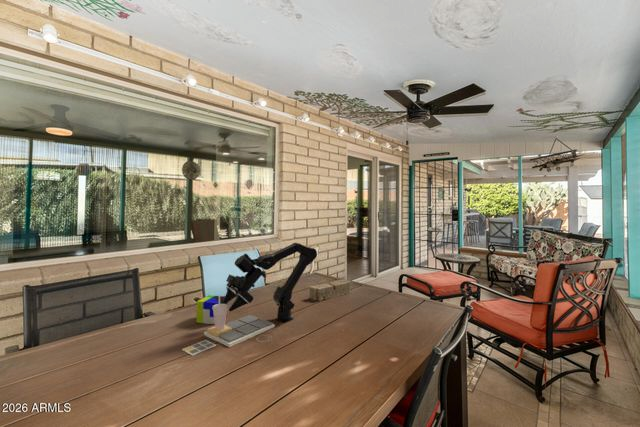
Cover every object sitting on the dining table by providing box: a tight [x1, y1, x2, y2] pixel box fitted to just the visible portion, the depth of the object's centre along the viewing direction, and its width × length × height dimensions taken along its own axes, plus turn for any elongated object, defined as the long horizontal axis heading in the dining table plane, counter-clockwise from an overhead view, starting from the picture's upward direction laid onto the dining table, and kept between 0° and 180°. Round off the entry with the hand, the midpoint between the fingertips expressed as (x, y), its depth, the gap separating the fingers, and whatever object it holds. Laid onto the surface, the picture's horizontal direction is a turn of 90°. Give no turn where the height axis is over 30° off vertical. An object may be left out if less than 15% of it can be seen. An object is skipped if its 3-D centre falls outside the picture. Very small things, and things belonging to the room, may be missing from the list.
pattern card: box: [181, 339, 217, 357], centre depth 114 cm, size 10×7×1 cm
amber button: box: [206, 325, 232, 338], centre depth 126 cm, size 7×7×2 cm
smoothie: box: [212, 295, 229, 330], centre depth 126 cm, size 6×6×14 cm
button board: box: [203, 314, 276, 348], centre depth 130 cm, size 25×17×2 cm
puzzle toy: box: [196, 294, 228, 325], centre depth 142 cm, size 10×10×10 cm
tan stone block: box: [309, 279, 352, 302], centre depth 185 cm, size 8×8×29 cm
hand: (225, 307), depth 127 cm, fingers open, 9 cm apart
